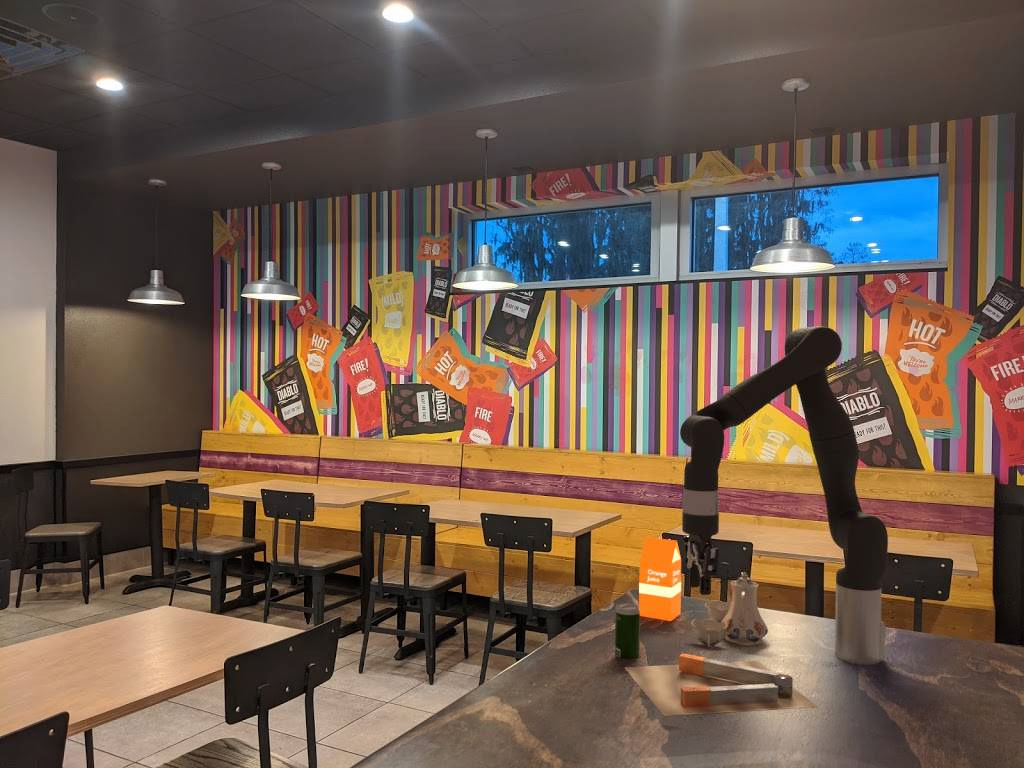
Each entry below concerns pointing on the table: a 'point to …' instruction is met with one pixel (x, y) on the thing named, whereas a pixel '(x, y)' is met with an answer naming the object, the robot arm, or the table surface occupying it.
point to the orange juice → (660, 579)
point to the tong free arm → (736, 673)
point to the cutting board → (668, 681)
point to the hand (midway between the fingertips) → (699, 590)
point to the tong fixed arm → (728, 695)
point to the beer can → (627, 631)
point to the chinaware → (733, 617)
